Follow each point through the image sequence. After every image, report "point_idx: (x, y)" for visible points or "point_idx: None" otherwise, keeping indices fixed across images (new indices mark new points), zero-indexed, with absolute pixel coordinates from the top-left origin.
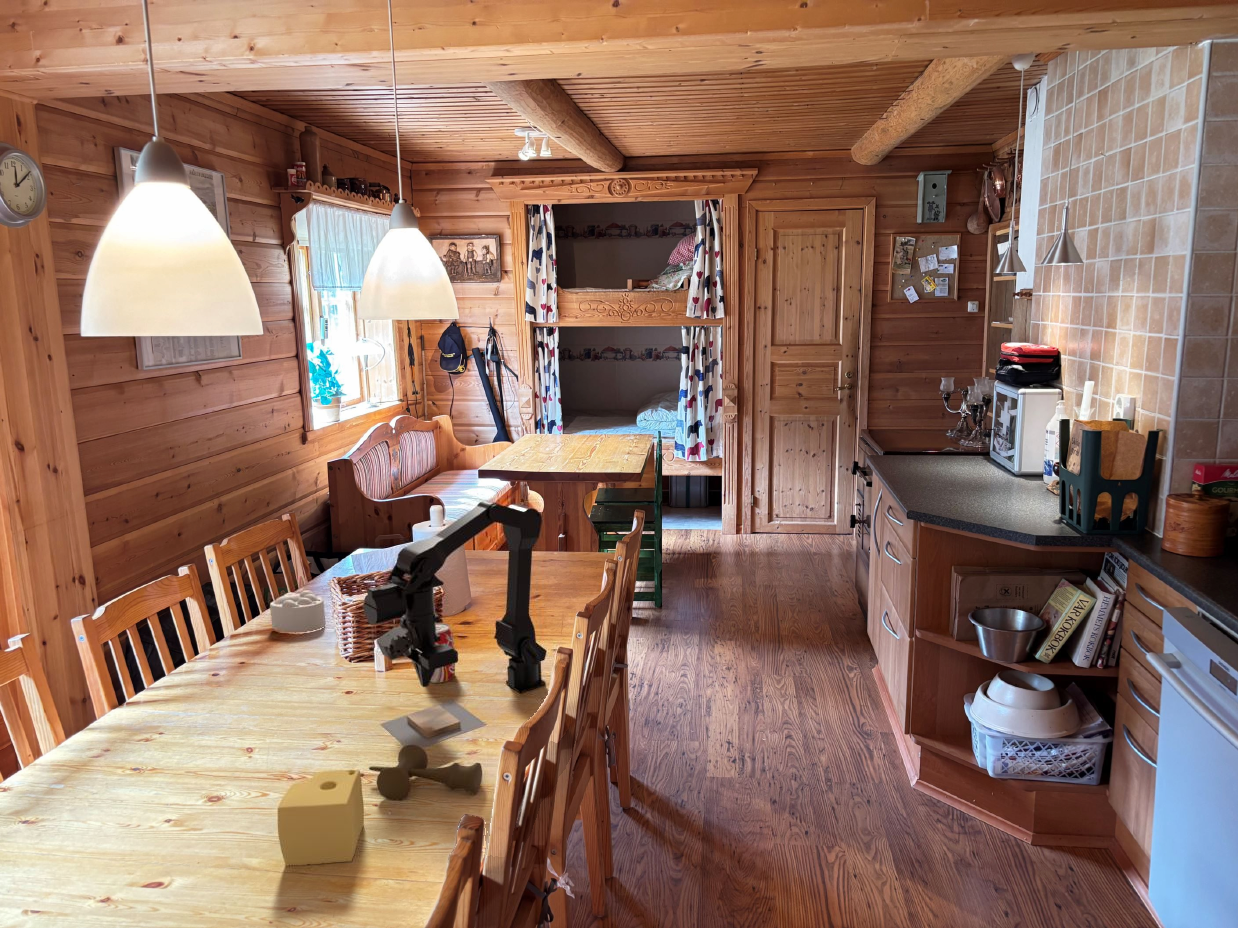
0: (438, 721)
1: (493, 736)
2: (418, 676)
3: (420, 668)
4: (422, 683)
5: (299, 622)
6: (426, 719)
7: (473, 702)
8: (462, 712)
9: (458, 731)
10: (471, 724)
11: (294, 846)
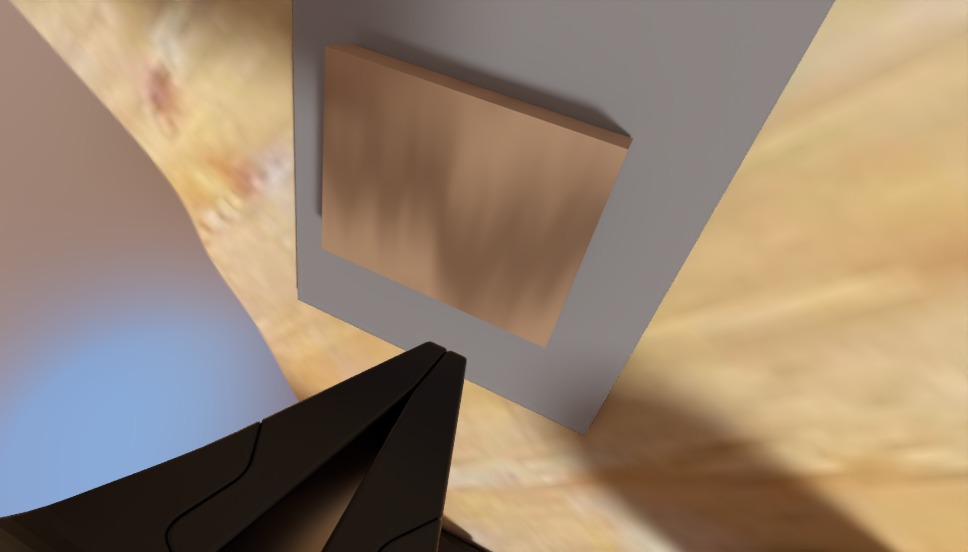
0: (395, 195)
1: (229, 242)
2: (428, 427)
3: (138, 491)
4: (401, 357)
5: None
6: (468, 179)
7: (499, 437)
8: (450, 349)
9: (321, 200)
10: (335, 275)
11: None
